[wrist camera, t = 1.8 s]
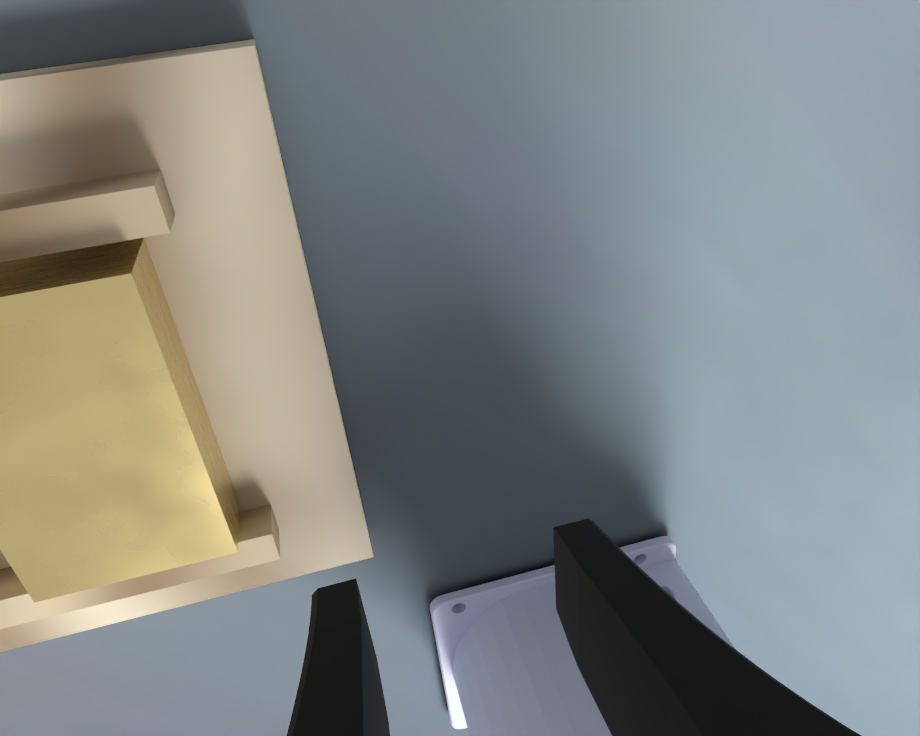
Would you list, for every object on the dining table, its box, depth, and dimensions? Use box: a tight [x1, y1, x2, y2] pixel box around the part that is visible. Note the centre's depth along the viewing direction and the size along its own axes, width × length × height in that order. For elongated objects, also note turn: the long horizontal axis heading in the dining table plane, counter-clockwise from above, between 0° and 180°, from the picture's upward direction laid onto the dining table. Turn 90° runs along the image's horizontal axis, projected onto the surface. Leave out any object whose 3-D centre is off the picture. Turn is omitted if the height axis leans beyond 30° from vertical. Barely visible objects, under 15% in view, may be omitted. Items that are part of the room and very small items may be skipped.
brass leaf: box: [0, 238, 239, 603], centre depth 16 cm, size 7×8×2 cm
